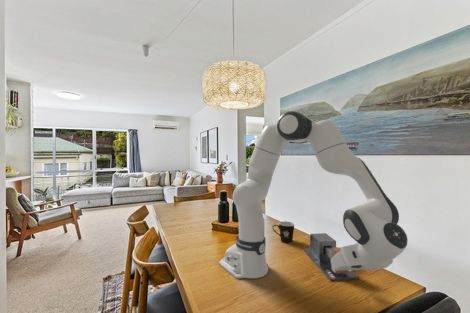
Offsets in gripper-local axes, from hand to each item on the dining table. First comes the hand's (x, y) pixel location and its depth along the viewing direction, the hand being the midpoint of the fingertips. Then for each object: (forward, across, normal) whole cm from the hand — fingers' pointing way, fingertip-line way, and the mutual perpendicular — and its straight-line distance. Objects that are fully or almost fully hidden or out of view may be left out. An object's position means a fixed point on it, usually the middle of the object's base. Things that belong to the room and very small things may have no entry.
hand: (351, 269), depth 86 cm
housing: (+18, 0, -9) cm, 20 cm away
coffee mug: (+37, +12, -28) cm, 48 cm away
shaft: (+14, 0, -7) cm, 16 cm away
